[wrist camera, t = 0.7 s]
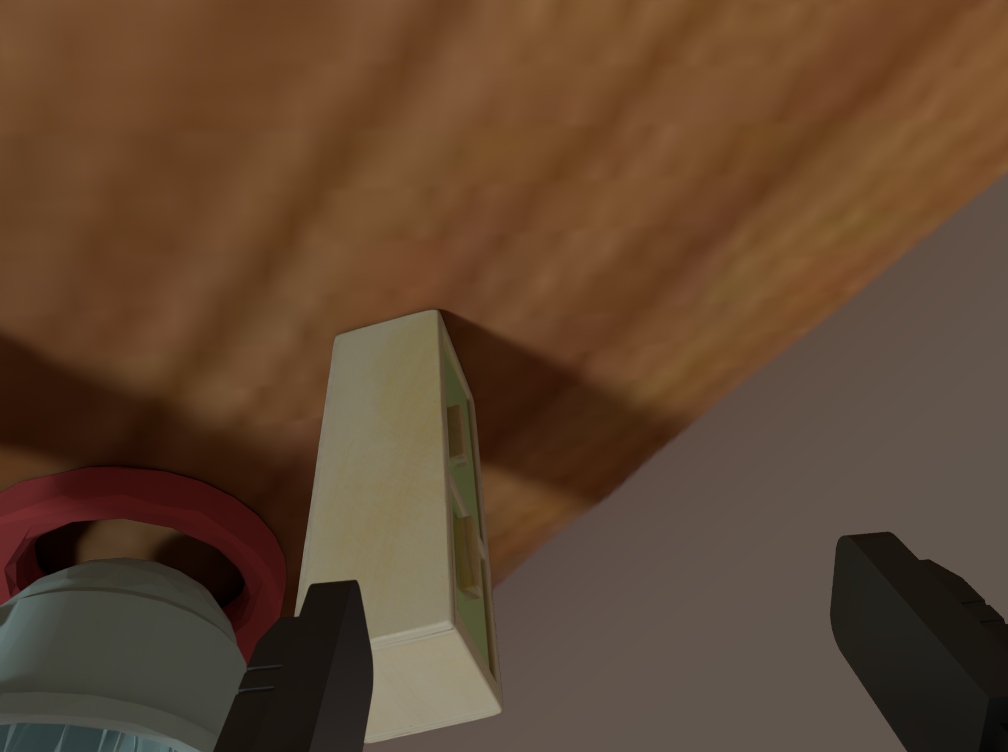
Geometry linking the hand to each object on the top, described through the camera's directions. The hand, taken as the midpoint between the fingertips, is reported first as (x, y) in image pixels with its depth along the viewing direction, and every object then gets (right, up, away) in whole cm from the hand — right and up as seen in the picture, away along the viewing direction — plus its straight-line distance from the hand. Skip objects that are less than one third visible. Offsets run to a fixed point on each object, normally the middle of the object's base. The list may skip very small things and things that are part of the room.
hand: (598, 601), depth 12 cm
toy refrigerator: (-7, +4, +34) cm, 35 cm away
